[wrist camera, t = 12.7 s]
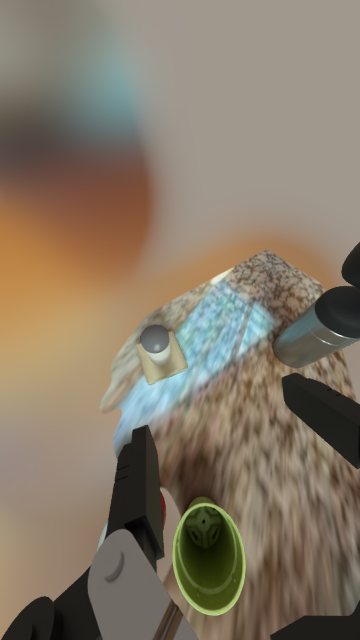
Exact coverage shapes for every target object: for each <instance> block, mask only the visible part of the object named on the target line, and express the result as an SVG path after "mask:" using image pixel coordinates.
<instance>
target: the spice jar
mask: <svg viewBox="0 0 360 640" xmlns="http://www.w3.org/2000/svg"><path fill="white" fill-rule="evenodd" d="M140 342H141V344H142V346H143V348H144V349H145V350H146V352H147V354H148V356H149V358H150V360H151V361H152V363H153V364H155V365H157V366H164V365H166V364H168V363H169V362H170V360H171V358H172V351H171V346H170V338H169V333H168V331H167V329H166V328H164V327H163V326H161V325H151V326H149V327H147V328H145V329H144V330H143V332H142V334H141V336H140Z"/></svg>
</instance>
